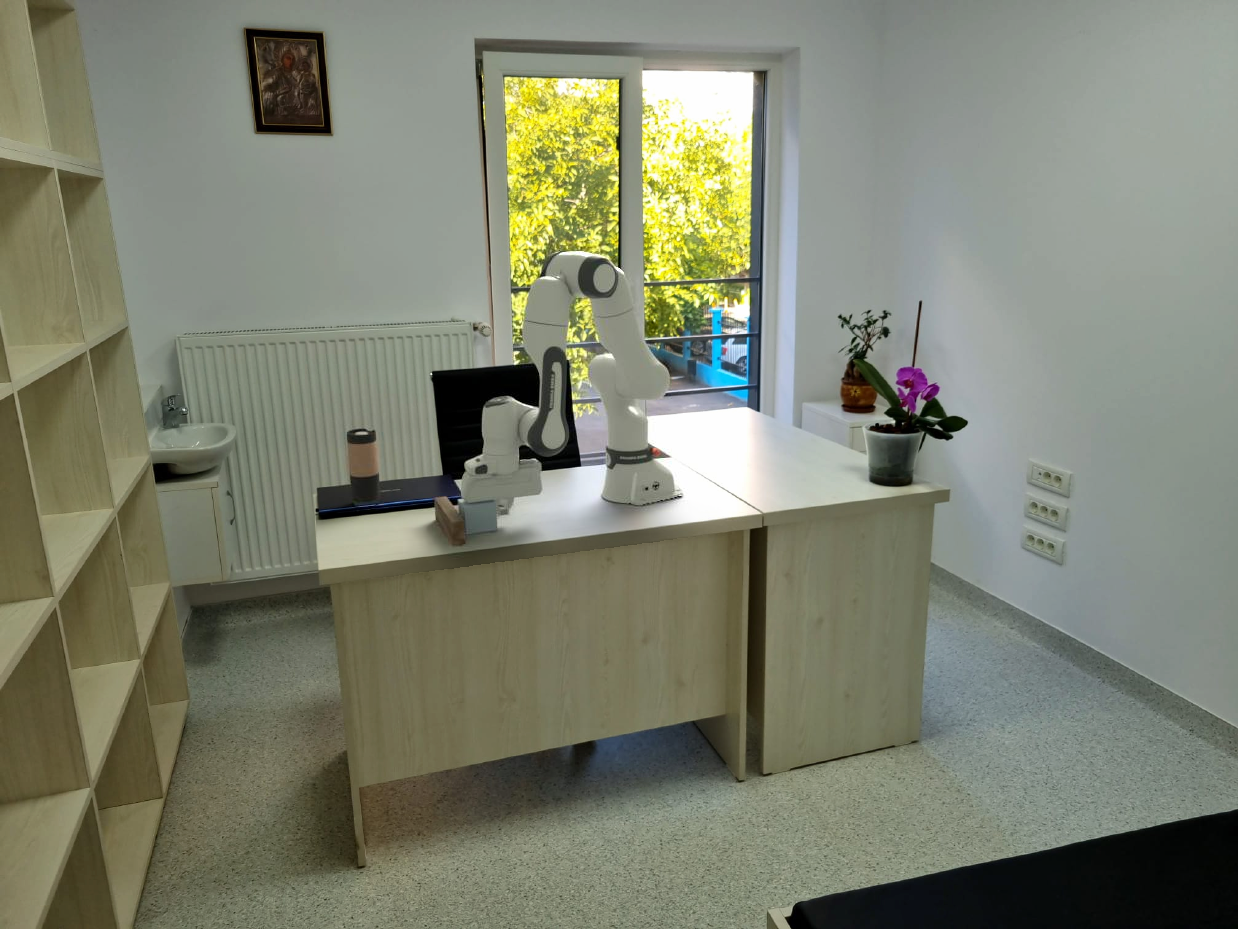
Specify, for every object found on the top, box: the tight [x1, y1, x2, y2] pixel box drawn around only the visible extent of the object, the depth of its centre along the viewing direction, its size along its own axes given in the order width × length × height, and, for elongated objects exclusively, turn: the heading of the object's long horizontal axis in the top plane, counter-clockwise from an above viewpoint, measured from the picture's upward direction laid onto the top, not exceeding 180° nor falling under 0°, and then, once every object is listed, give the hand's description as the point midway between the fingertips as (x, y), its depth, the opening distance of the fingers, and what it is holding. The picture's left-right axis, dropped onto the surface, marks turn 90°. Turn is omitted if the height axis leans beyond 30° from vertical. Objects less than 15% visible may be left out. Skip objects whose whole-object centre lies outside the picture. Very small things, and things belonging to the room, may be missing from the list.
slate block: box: [457, 498, 499, 536], centre depth 235 cm, size 8×7×7 cm
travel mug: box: [346, 428, 381, 502], centre depth 251 cm, size 8×8×20 cm
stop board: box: [433, 496, 467, 547], centre depth 232 cm, size 3×20×6 cm, turn 23°
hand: (502, 514), depth 237 cm, fingers closed
